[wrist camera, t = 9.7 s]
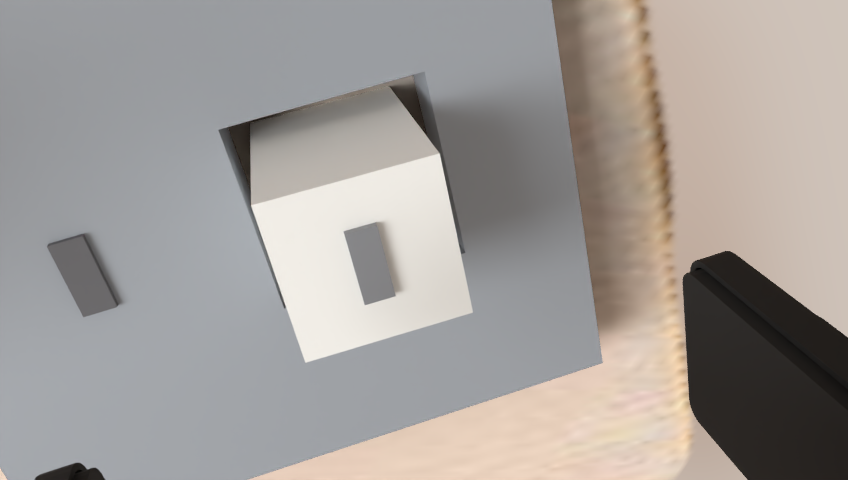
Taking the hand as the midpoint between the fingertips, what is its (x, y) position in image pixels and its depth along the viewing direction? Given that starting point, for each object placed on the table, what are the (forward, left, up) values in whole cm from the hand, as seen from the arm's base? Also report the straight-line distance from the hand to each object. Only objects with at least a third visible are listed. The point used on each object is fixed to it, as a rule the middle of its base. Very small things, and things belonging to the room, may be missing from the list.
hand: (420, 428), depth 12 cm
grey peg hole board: (+1, -3, -14) cm, 14 cm away
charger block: (+1, 0, -14) cm, 14 cm away
